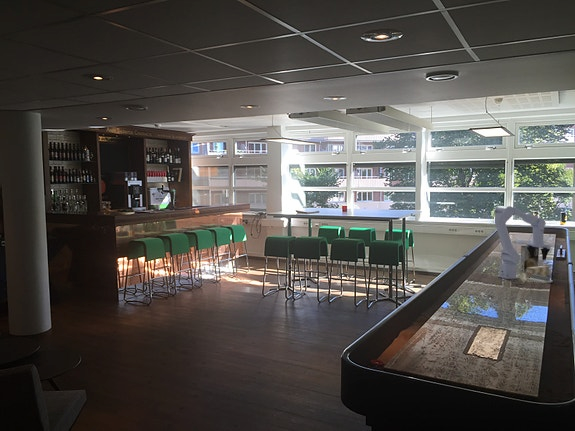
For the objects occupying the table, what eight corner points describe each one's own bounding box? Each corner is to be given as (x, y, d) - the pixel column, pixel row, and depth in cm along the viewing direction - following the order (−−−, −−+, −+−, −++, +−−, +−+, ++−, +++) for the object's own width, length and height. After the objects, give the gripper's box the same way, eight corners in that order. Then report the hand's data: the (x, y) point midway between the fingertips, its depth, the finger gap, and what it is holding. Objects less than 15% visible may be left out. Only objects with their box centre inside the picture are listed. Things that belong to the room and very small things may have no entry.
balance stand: (543, 283, 261) (543, 277, 261) (527, 279, 270) (528, 274, 270) (552, 281, 265) (552, 276, 264) (536, 278, 274) (536, 273, 273)
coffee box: (533, 269, 302) (535, 245, 301) (538, 271, 296) (539, 247, 295) (519, 269, 303) (520, 245, 302) (523, 271, 297) (524, 246, 296)
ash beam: (531, 278, 275) (531, 268, 275) (526, 277, 278) (526, 267, 278) (548, 276, 282) (548, 266, 282) (543, 275, 285) (543, 265, 285)
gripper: (553, 237, 274) (553, 259, 275) (531, 235, 287) (531, 256, 288) (546, 238, 271) (546, 261, 272) (524, 236, 284) (524, 258, 285)
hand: (538, 259), depth 280 cm, fingers open, 7 cm apart
